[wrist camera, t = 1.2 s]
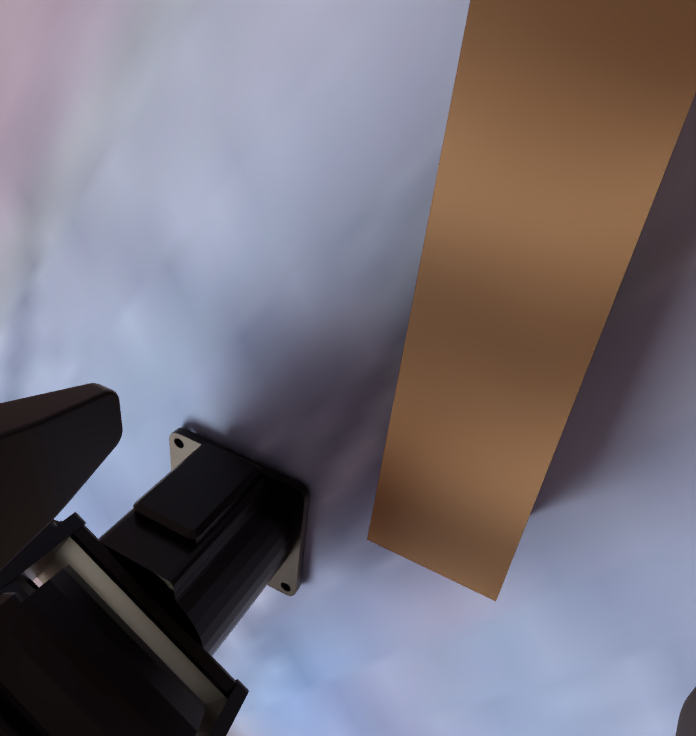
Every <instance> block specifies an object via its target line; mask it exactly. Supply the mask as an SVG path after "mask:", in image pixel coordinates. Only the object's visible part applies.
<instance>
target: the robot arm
mask: <svg viewBox="0 0 696 736" xmlns="http://www.w3.org/2000/svg"><path fill="white" fill-rule="evenodd" d="M121 436H122V420H121V411H120V402H119V397H118V395H117V393H116V392H115V391H113V390H111V389H109V388H107V387H104V386H102V385H100V384H96V383H90V384H85V385H81V386H76V387H72V388H67V389H63V390H58V391H54V392H49V393H45V394H40V395H35V396H31V397H26V398H22V399H17V400H13V401H8V402H4V403H0V736H226V735H227V733H228V731H229V729H230V727H231V725H232V723H233V721H234V719H235V717H236V715H237V714H238V712H239V710H240V708H241V706H242V704H243V702H244V700H245V698H246V696H247V694H248V692H249V690H248V689H247V688H246V687H245V686H244V685H243V684H242V683H241V682H240V681H239V680H238V679H237V680H234V679H233V678H232V677H231V676H230V675H229V673H228V672H227V671H226V670H225V669H224V668H223V667H222V666H221V665H220V664H219V663H218V662H217V661H216V660H215V659H214V658H213V657H212V656H213V654H214V653H215V652H216V651H217V649H218V648H219V647H220V645H221V644H222V643H223V641H224V640H225V639H226V638H227V636H228V635H229V634H230V632H231V631H232V630H233V628H234V627H235V626H236V625H237V623H238V622H239V621H240V619H241V618H242V617H243V615H244V614H245V613H246V611H247V610H248V609H249V608H250V606H251V605H252V604H253V602H254V601H255V600H256V598H257V597H258V596H259V595H260V593H261V592H262V591H263V589H264V588H265V587H266V585H269V586H270V587H272V588H274V589H276V590H278V591H280V592H282V593H284V594H286V595H288V596H293V595H295V593H296V592H297V590H298V589H299V587H300V584H301V574H302V565H303V555H304V545H305V536H306V526H307V517H308V507H309V498H310V494H309V490H308V489H307V487H306V486H305V485H304V484H303V483H301V482H300V481H298V480H296V479H293V478H291V477H289V476H287V475H285V474H282V473H280V472H278V471H276V470H274V469H272V468H269V467H267V466H265V465H263V464H261V463H258V462H256V461H254V460H252V459H250V458H248V457H245V456H243V455H241V454H239V453H237V452H235V451H232V450H230V449H228V448H226V447H224V446H221V445H219V444H217V443H215V442H213V441H211V440H208V439H206V438H204V437H202V436H200V435H197V434H195V433H193V432H191V431H189V430H187V429H184V428H178V429H177V430H175V431H174V432H173V433H172V434H171V435H170V438H169V441H170V456H171V472H169V473H168V474H167V475H166V476H165V477H164V478H163V479H161V480H160V481H159V482H158V483H157V484H156V485H155V486H153V487H152V488H151V489H150V490H149V491H148V492H147V493H145V494H144V495H143V496H142V497H141V498H140V499H139V500H137V501H136V502H135V504H134V505H133V507H134V508H133V509H132V510H131V511H129V512H128V513H127V514H126V515H125V516H124V517H123V518H122V519H120V520H119V521H118V522H117V523H116V524H115V525H114V526H112V527H111V528H110V529H109V530H108V531H107V532H106V533H104V534H103V535H102V536H101V537H100V538H99V539H98V538H97V537H96V536H95V535H94V534H93V533H92V532H91V531H90V530H89V529H88V528H87V527H86V526H85V524H86V522H85V521H84V520H83V519H82V518H81V517H80V516H79V515H78V514H77V513H76V512H75V513H73V514H72V515H71V516H69V517H68V518H67V519H65V520H64V521H60V522H59V521H56V520H54V518H55V517H56V516H57V515H58V514H59V512H60V511H61V510H62V509H63V508H64V507H65V506H66V505H67V504H68V502H69V501H70V500H71V499H72V498H73V496H74V495H75V494H76V493H77V492H78V491H79V489H80V488H81V487H82V486H83V485H84V483H85V482H86V481H87V480H88V479H89V478H90V476H91V475H92V474H93V473H94V472H95V470H96V469H97V468H98V467H99V466H100V465H101V463H102V462H103V461H104V460H105V459H106V457H107V456H108V455H109V454H110V453H111V452H112V450H113V449H114V448H115V447H116V446H117V444H118V443H119V441H120V439H121ZM36 577H37V578H38V579H39V580H41V582H42V583H43V585H42V586H41V587H38V586H37V585H35V583H34V582H33V580H34V579H35V578H36ZM676 736H696V687H695V688H694V689H693V691H692V692H691V693H690V695H689V696H688V697H687V699H686V700H685V702H684V704H683V707H682V709H681V712H680V716H679V720H678V726H677V731H676Z"/></svg>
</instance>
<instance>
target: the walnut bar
mask: <svg viewBox="0 0 696 736" xmlns="http://www.w3.org/2000/svg"><path fill="white" fill-rule="evenodd" d="M695 93H696V0H470V5H469V11H468V16H467V21H466V26H465V31H464V37H463V42H462V47H461V52H460V58H459V63H458V68H457V73H456V78H455V84H454V89H453V94H452V99H451V104H450V110H449V115H448V120H447V125H446V131H445V136H444V141H443V146H442V151H441V157H440V162H439V167H438V172H437V178H436V183H435V188H434V193H433V198H432V204H431V209H430V214H429V219H428V225H427V230H426V235H425V240H424V245H423V251H422V256H421V261H420V266H419V271H418V277H417V282H416V287H415V292H414V298H413V303H412V308H411V313H410V318H409V324H408V329H407V334H406V339H405V345H404V350H403V355H402V360H401V365H400V371H399V376H398V381H397V386H396V392H395V397H394V402H393V407H392V412H391V418H390V423H389V428H388V433H387V438H386V444H385V449H384V454H383V459H382V465H381V470H380V475H379V480H378V485H377V491H376V496H375V501H374V506H373V512H372V517H371V522H370V527H369V532H368V538H367V540H369V541H371V542H373V543H375V544H377V545H380V546H382V547H384V548H386V549H388V550H390V551H392V552H394V553H396V554H398V555H400V556H402V557H405V558H407V559H409V560H411V561H413V562H415V563H417V564H419V565H421V566H423V567H425V568H427V569H430V570H432V571H434V572H436V573H438V574H440V575H442V576H444V577H446V578H448V579H450V580H452V581H455V582H457V583H459V584H461V585H463V586H465V587H467V588H469V589H471V590H473V591H475V592H477V593H480V594H482V595H484V596H486V597H488V598H490V599H492V600H494V601H496V600H497V597H498V595H499V592H500V590H501V587H502V584H503V582H504V579H505V577H506V574H507V572H508V569H509V567H510V564H511V562H512V559H513V556H514V554H515V551H516V549H517V546H518V544H519V541H520V539H521V536H522V534H523V531H524V529H525V526H526V523H527V521H528V518H529V516H530V513H531V511H532V508H533V506H534V503H535V501H536V498H537V495H538V493H539V490H540V488H541V485H542V483H543V480H544V478H545V475H546V473H547V470H548V467H549V465H550V462H551V460H552V457H553V455H554V452H555V450H556V447H557V445H558V442H559V439H560V437H561V434H562V432H563V429H564V427H565V424H566V422H567V419H568V417H569V414H570V411H571V409H572V406H573V404H574V401H575V399H576V396H577V394H578V391H579V389H580V386H581V384H582V381H583V378H584V376H585V373H586V371H587V368H588V366H589V363H590V361H591V358H592V356H593V353H594V350H595V348H596V345H597V343H598V340H599V338H600V335H601V333H602V330H603V328H604V325H605V322H606V320H607V317H608V315H609V312H610V310H611V307H612V305H613V302H614V300H615V297H616V294H617V292H618V289H619V287H620V284H621V282H622V279H623V277H624V274H625V272H626V269H627V266H628V264H629V261H630V259H631V256H632V254H633V251H634V249H635V246H636V244H637V241H638V238H639V236H640V233H641V231H642V228H643V226H644V223H645V221H646V218H647V216H648V213H649V211H650V208H651V205H652V203H653V200H654V198H655V195H656V193H657V190H658V188H659V185H660V183H661V180H662V177H663V175H664V172H665V170H666V167H667V165H668V162H669V160H670V157H671V155H672V152H673V149H674V147H675V144H676V142H677V139H678V137H679V134H680V132H681V129H682V127H683V124H684V121H685V119H686V116H687V114H688V111H689V109H690V106H691V104H692V101H693V99H694V96H695Z"/></svg>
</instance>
